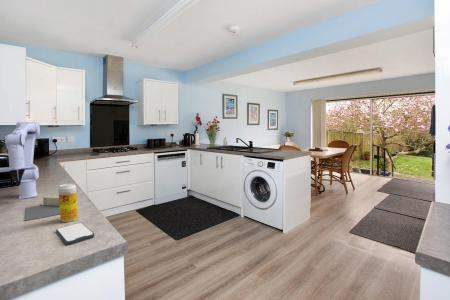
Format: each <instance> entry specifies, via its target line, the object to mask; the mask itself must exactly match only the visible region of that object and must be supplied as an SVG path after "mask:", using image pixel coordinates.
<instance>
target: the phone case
mask: <svg viewBox="0 0 450 300" xmlns="http://www.w3.org/2000/svg"><path fill="white" fill-rule="evenodd" d="M55 231H56V233H57V235H58V237H59V238H60V239H61V240H62V242H63V243H64V244H65V246H71V245H75V244H78V243H81V242H85V241H87V240H91V239H94V238H95V233H94V232H93V230H90V228H88V227H87V226H86V225H85V224H84V223H82V222H78V223H75V224H71V225H67V226H63V227H59V228H57V229H56V230H55Z"/></svg>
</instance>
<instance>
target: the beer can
mask: <svg viewBox="0 0 450 300" xmlns="http://www.w3.org/2000/svg"><path fill="white" fill-rule="evenodd" d="M58 194H59V205H60V215H59V217H60V221H61V222H62V223H71V222H74V221H76V220H77V219H78V217H79V214H78V213H79V212H78V198H77V195H78V194H77V186H76V184H75V183H64V184H59V186H58Z"/></svg>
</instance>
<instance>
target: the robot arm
mask: <svg viewBox="0 0 450 300" xmlns="http://www.w3.org/2000/svg"><path fill="white" fill-rule="evenodd" d="M15 127H16V128H15V129H13V131H12V132H11V133H10V134H6V135H5V137H4V143H5V146H6V150H7V152H8V153H7V154H8V165H9V166H8V167H7V166H5V167H0V173H6V172H7V173H8V172H10V173H9V174H10V175H11V176H12V178H13V179H14V181H15V183H16V186H18V189H19V191H18V192H19V196H18V199H19V200H23V199H29V198H36V197H38V195H39V194H38V192H37V182H36V180H38V179H39V176H40V172H39V170H40V169H39V167H38V165H36V164H34V153H35V143H36V139H38V138H39V137H40V133H41V127H40V123H39V122H38V121H17V122H16V124H15Z"/></svg>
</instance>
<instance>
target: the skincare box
mask: <svg viewBox="0 0 450 300" xmlns="http://www.w3.org/2000/svg"><path fill="white" fill-rule="evenodd" d="M42 205H48V206H60V205H59V193H52V194H48V195H45V196H43V197H42Z"/></svg>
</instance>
